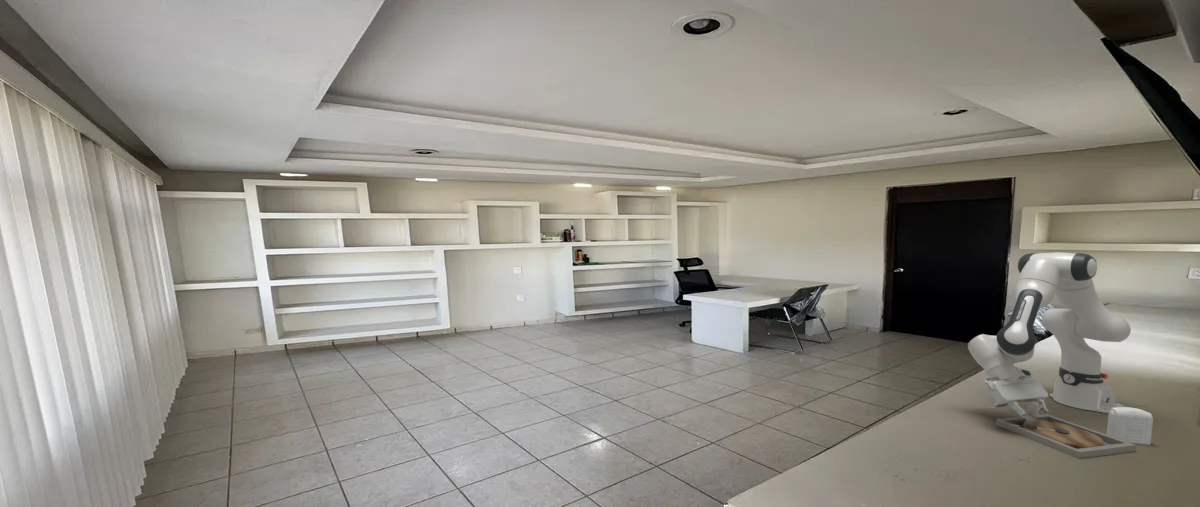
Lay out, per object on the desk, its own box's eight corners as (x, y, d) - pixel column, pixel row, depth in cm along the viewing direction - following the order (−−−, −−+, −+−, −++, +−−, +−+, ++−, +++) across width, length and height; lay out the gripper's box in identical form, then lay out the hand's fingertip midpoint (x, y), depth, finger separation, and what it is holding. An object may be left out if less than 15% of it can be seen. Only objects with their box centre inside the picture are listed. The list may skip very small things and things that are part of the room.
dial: (1082, 430, 156) (1084, 401, 155) (1118, 455, 138) (1121, 422, 138) (1013, 420, 163) (1014, 392, 163) (1038, 443, 146) (1040, 411, 146)
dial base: (1046, 422, 165) (1046, 413, 165) (1135, 454, 142) (1136, 444, 142) (995, 427, 160) (995, 418, 160) (1078, 462, 137) (1079, 451, 137)
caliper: (1014, 400, 188) (1015, 385, 187) (1017, 400, 187) (1018, 386, 186) (991, 408, 178) (992, 393, 178) (994, 409, 177) (995, 394, 177)
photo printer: (1142, 442, 150) (1145, 407, 149) (1153, 448, 146) (1156, 412, 145) (1103, 438, 153) (1105, 403, 152) (1113, 444, 149) (1115, 408, 148)
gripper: (989, 374, 157) (1019, 412, 148) (1034, 371, 161) (1065, 407, 152) (976, 382, 162) (1003, 419, 153) (1019, 378, 166) (1049, 415, 157)
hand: (1034, 413), depth 153 cm, fingers open, 8 cm apart
